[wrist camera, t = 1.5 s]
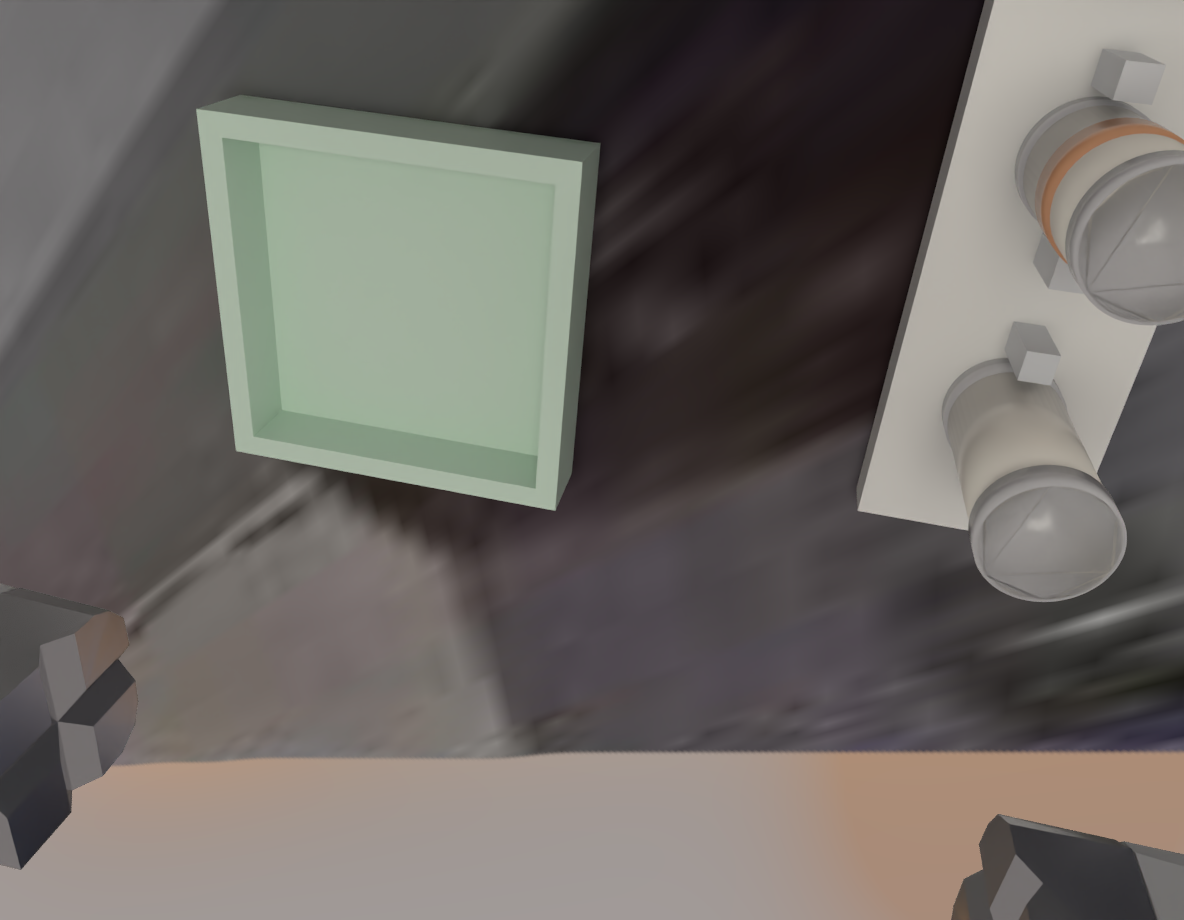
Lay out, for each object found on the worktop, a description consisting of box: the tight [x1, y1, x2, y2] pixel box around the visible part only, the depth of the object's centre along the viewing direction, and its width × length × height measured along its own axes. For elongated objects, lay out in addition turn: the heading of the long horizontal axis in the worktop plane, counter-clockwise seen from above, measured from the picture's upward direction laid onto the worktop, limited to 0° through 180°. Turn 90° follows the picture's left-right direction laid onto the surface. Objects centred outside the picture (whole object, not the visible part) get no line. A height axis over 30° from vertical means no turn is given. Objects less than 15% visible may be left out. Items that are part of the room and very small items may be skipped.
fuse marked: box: [1014, 96, 1184, 325], centre depth 31 cm, size 5×5×10 cm
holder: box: [856, 0, 1184, 530], centre depth 35 cm, size 32×9×5 cm, turn 175°
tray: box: [196, 95, 601, 511], centre depth 44 cm, size 16×16×4 cm
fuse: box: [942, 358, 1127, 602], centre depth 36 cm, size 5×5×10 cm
